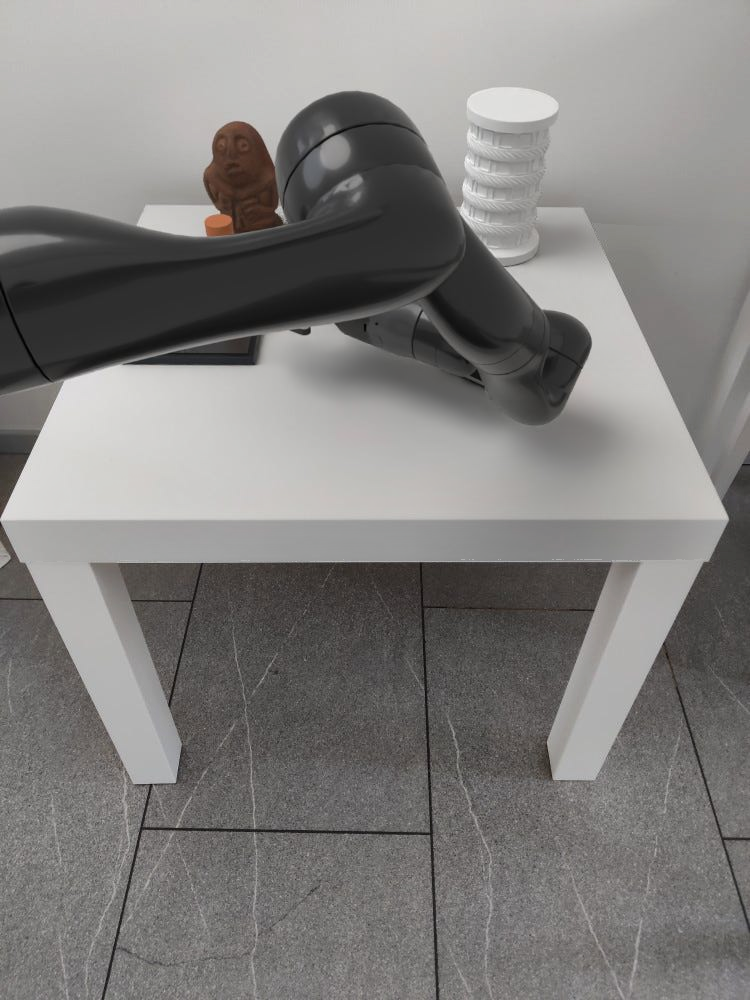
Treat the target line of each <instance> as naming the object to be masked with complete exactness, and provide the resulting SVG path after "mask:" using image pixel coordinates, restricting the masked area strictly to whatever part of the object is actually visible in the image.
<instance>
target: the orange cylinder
mask: <svg viewBox="0 0 750 1000" xmlns="http://www.w3.org/2000/svg"><path fill="white" fill-rule="evenodd" d="M203 223H204V228H205V235H206V237H214V236H225V235H234V230H233V223H232V218H231V217H230V216H228V215H224V214H220V213H217V214H216V213H215V214H212V215H210V216H207V217H206V218H205V219H204V221H203Z"/></svg>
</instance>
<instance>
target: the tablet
mask: <svg viewBox="0 0 750 1000" xmlns="http://www.w3.org/2000/svg"><path fill="white" fill-rule="evenodd" d="M259 341H260V335H254V336H248V337H242V338H236V339H230V340H225V341H220V342H215V343H211V344H206V345H201V346H197V347H192V348H188V349H183V350H178V351H174V352H170V353H166V354H162V355H158V356H154V357H150V358H145V359H141V360H137V361H133V362H129V363H125V364H124V365H218V366H219V365H224V366H225V365H229V366H231V365H232V366H233V365H234V366H235V365H237V366H240V365H241V366H242V365H244V366H245V365H246V366H254V365H255V363H256V357H257V351H258V345H259Z"/></svg>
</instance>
